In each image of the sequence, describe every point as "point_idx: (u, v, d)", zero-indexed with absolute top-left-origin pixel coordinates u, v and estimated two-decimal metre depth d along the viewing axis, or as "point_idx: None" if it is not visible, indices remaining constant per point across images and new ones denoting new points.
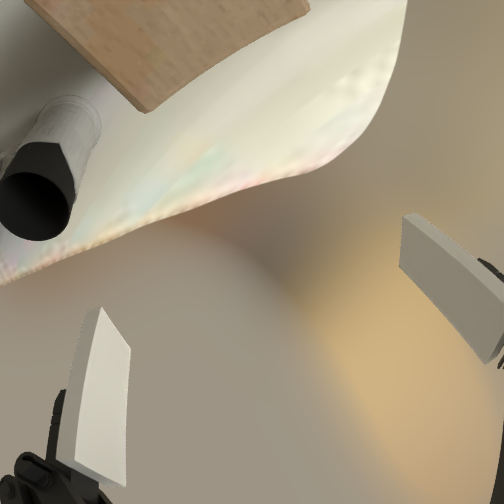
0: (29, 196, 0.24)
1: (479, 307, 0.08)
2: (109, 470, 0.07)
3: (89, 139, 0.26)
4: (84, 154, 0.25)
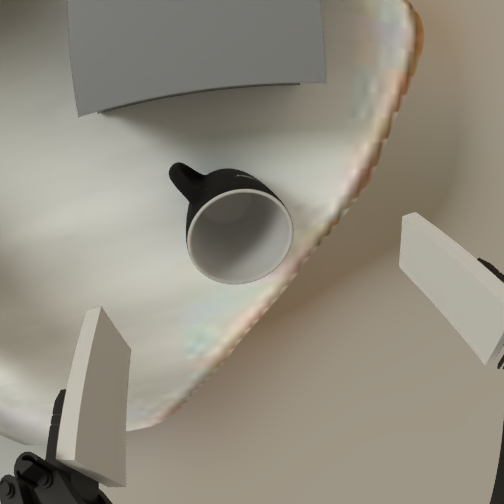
0: None
1: (479, 307, 0.08)
2: (109, 470, 0.07)
3: None
4: None
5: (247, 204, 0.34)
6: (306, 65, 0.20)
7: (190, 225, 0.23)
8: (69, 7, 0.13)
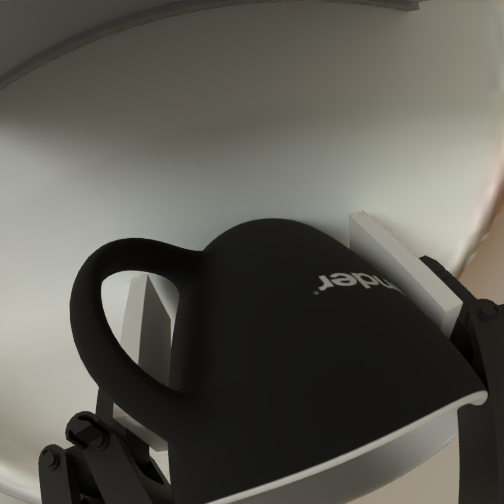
0: None
1: (416, 305, 0.09)
2: None
3: None
4: None
5: None
6: None
7: None
8: None
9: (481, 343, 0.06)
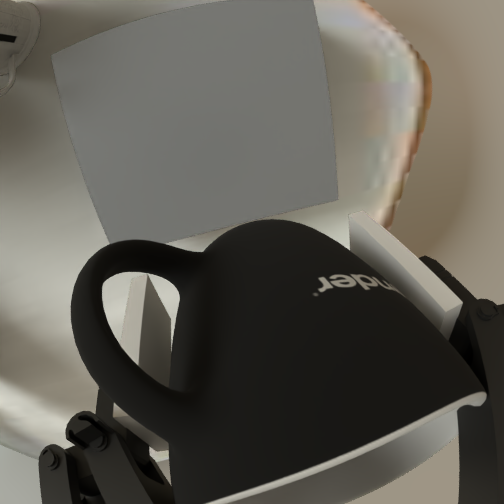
0: None
1: (416, 305, 0.09)
2: None
3: None
4: None
5: None
6: (319, 187, 0.25)
7: None
8: (76, 149, 0.19)
9: (481, 343, 0.06)
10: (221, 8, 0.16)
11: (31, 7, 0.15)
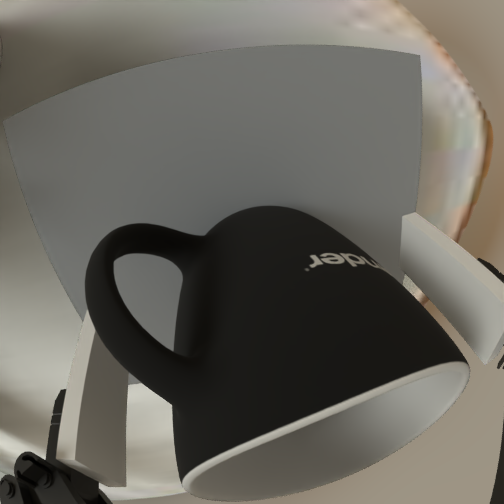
0: None
1: (479, 307, 0.08)
2: (109, 470, 0.07)
3: None
4: None
5: None
6: None
7: (182, 478, 0.05)
8: (58, 272, 0.13)
9: None
10: (292, 58, 0.10)
11: None
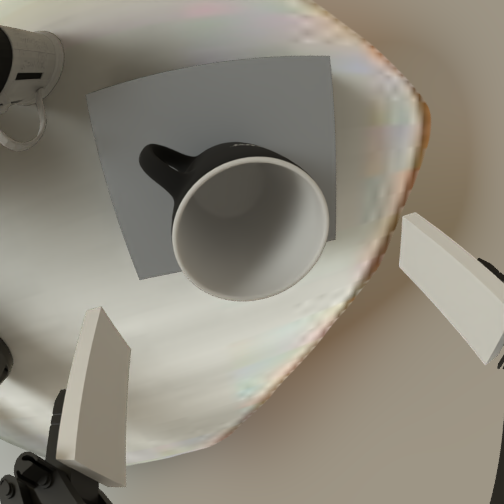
0: None
1: (479, 307, 0.08)
2: (109, 470, 0.07)
3: None
4: None
5: (260, 187, 0.25)
6: None
7: (172, 226, 0.15)
8: (109, 186, 0.23)
9: None
10: (247, 66, 0.20)
11: (53, 39, 0.19)
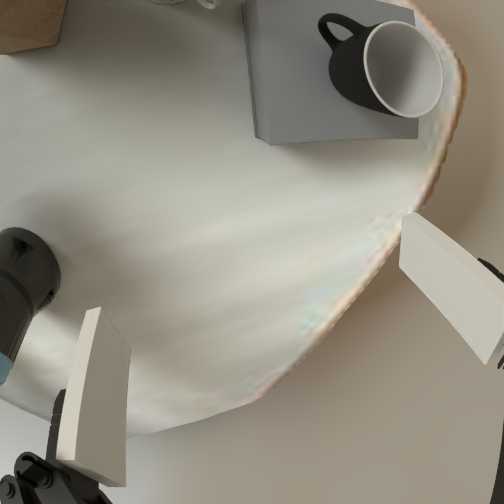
0: None
1: (479, 307, 0.08)
2: (109, 470, 0.07)
3: None
4: None
5: (375, 81, 0.28)
6: (408, 127, 0.32)
7: (365, 43, 0.18)
8: (263, 57, 0.26)
9: None
10: (367, 3, 0.23)
11: None
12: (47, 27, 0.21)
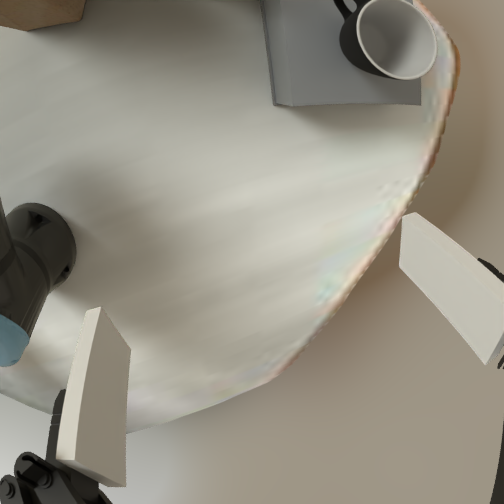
0: None
1: (479, 307, 0.08)
2: (109, 470, 0.07)
3: None
4: None
5: (383, 55, 0.28)
6: (412, 94, 0.33)
7: (361, 9, 0.19)
8: (285, 28, 0.27)
9: None
10: None
11: None
12: (74, 2, 0.21)
